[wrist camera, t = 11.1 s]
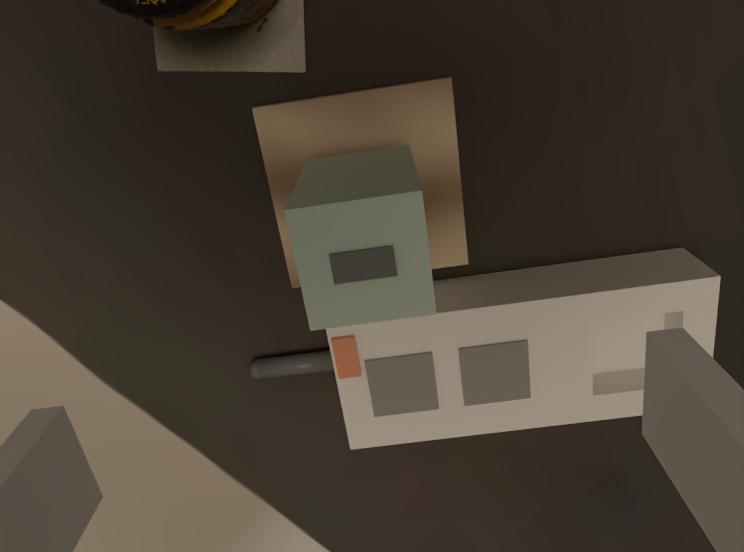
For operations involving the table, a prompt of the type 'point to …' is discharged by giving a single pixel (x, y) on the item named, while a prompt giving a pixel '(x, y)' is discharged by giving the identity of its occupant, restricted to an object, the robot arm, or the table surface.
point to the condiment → (223, 33)
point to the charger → (361, 239)
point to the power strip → (513, 349)
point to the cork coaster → (372, 132)
